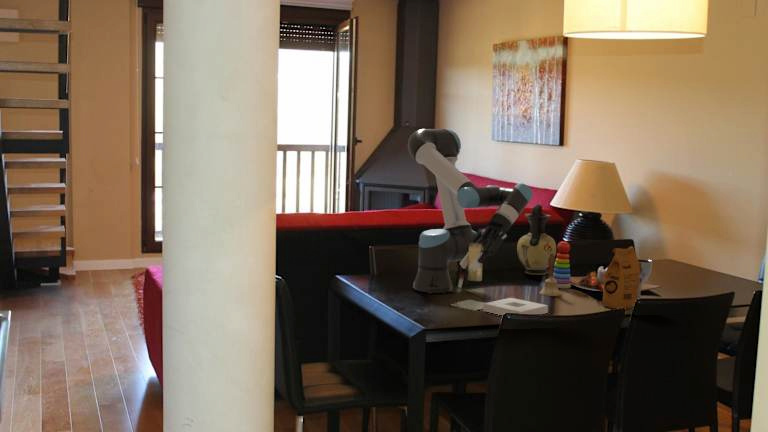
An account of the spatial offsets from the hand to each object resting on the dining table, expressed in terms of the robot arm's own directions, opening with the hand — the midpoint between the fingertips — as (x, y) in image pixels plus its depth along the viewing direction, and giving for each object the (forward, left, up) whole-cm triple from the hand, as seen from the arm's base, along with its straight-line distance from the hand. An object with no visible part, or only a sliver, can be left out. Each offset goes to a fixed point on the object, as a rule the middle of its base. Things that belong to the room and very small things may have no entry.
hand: (467, 267), depth 311 cm
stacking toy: (0, +61, -15) cm, 62 cm away
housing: (+16, +8, -15) cm, 23 cm away
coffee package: (+34, +48, -15) cm, 60 cm away
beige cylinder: (+1, +4, -5) cm, 6 cm away
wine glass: (+32, +66, -15) cm, 75 cm away
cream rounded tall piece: (-25, +79, -15) cm, 84 cm away
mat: (0, +4, -15) cm, 15 cm away
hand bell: (+5, +46, -15) cm, 48 cm away
